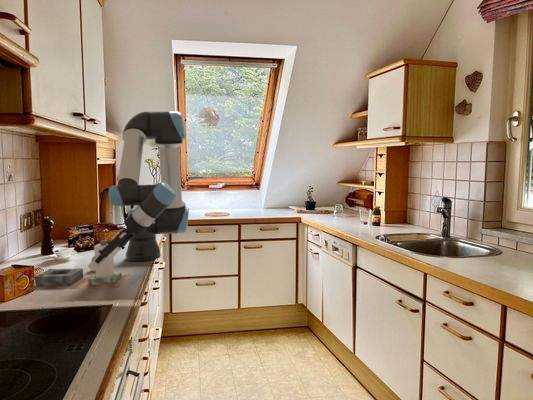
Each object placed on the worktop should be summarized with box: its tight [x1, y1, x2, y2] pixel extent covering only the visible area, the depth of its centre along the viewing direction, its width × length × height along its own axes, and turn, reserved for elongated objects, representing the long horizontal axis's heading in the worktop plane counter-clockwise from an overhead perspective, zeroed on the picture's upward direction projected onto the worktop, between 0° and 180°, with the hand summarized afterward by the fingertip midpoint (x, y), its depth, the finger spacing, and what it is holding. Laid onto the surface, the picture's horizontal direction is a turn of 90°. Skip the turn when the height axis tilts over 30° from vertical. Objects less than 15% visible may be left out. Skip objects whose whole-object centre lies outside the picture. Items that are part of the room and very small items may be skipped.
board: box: [27, 267, 133, 294], centre depth 148 cm, size 30×16×5 cm, turn 90°
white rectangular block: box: [93, 239, 115, 278], centre depth 148 cm, size 5×4×14 cm
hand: (98, 263), depth 147 cm, fingers open, 13 cm apart
